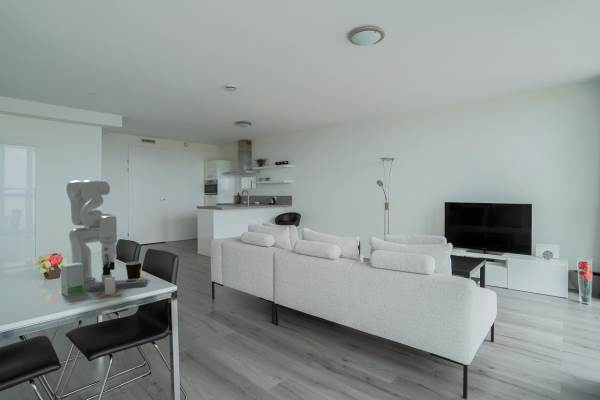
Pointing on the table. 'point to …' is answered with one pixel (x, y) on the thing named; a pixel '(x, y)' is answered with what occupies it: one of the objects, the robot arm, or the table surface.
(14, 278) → the table surface
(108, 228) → the robot arm
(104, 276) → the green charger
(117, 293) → the walnut board
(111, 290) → the white charger
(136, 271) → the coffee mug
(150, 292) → the table surface
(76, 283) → the skincare box
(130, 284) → the power strip
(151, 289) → the table surface
